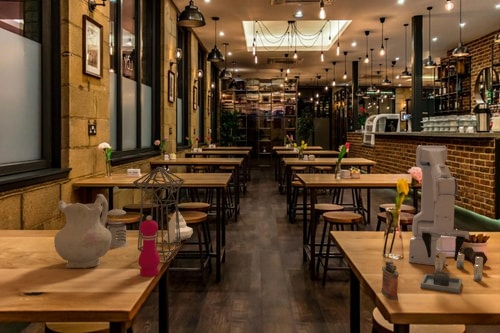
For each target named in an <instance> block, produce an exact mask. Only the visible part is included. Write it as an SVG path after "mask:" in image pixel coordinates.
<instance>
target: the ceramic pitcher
mask: <svg viewBox="0 0 500 333" xmlns="http://www.w3.org/2000/svg"><path fill="white" fill-rule="evenodd" d="M57 204H58V209H59V211H61V212H64V215H65V221H66V223H65V225H64V226H63V228H61V229H59V231H58V232H56V233H55V235H54V238H53V239H54V248H55V251H56V253H57V254H58V256H59V257H61V259H62V260H64V261H67V263H66V264H65V265H64V268H66V269H71V268H72V269H73V268H75V269H76V268H77V269H78V268H79V269H88V268H89V269H90V268H94V267H99V265H100V264H101V261H100V260H99V258H103V257H104V256H105V255H106V254H107V253H108V251H109V249H111V248H110V246H111V240H112V236H111V233H110V231H109V230H108V229H107V227H106V228H105V224H106V222H107V220H108V215H107V214H108V212H109V203H108V200H107V198H106V197H105V194H102V193H98V194H96V199H95V201H94V203H85V204H84V203H80V202H76V203H71V202H70V203H66V202H65V200H63V199H62V200H59V201H57ZM101 213H102V214H101Z"/></svg>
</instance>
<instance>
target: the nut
mask: <svg viewBox="0 0 500 333" xmlns="http://www.w3.org/2000/svg"><path fill="white" fill-rule="evenodd" d="M433 275H434V282H433V284H434V285H440V286H447V287H448V286H449V278H450V277H451V276H450V272H447V271H443V270H442V271H435V270H434V272H433Z"/></svg>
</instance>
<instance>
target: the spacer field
mask: <svg viewBox="0 0 500 333" xmlns="http://www.w3.org/2000/svg"><path fill="white" fill-rule="evenodd" d="M446 260H447V253H446V252H443V251H441V252H440V251H439V252H438V260H435V265H434V272H435V271H443V268H444V269H445V268H446V264H447V262H446ZM483 267H484V266H483V257H475V265H474V264H473V281H474V280H475V281H474V282H479V281H480V282H482V280H483V272H484V270H483V269H484V268H483ZM456 269H458V270H459V269H460V270H464V269H465V258H464V254H461V253H460V252H459V253H458V256H457V261H456Z"/></svg>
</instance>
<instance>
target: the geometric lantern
mask: <svg viewBox="0 0 500 333" xmlns="http://www.w3.org/2000/svg"><path fill="white" fill-rule="evenodd" d="M158 173H160V175H161V177H162V179H163V180H161V179H156V178H157V176H158ZM172 176H173V177H175V178H177V179H174V178H173V177H172ZM144 178H145V179H144ZM166 178H167V180H168V181H167V180H166ZM142 179H144V180H142ZM141 180H142V181H141ZM139 181H140V182H139ZM150 181H152V183H150ZM185 182H186V180H185V179H183V178H182V177H180V176H178V175H176V174H174V173H172V172H171V171H169V170H167V169H166V168H164V167H162V166H161V167H160V166H157V167H156V168H154V169H153V170H151V171H149V172H148V173H146V174H144V175H143V176H141V177H139V178H137V179H136V180H134V181H133V182H132V184H133V185H135V186H136V187H137V188H138V189H140V191H141V194H140V199H141V201H140V211H139V212H140V214H139V224H138V225H139V227H138V236H137V237H138V238H137V239H138V240H137V250H138V251H139V252H141V251H142V248H143V239H142V233H141V231H140V225H141V223H142V222H143V205H144V206H145V205H146V206H147V205H148V206H151V212H150V213H151V214H150V216H151V217H152V219H151V220H153V218H154V217H153V216H154V215H153V213H154V206H156V216H155V217H156V220H155V222H156V223H157V224H158V225H159V221H158V220H159V207H160V211H161V212H160V213H161V214H160V215H161V216H160V218H161V220H160V222H161V241H160V242H159V241H158V239H159V238H158V237H159V236H158V235H159V234H158V233H159V232H158V231H159V230H158V231H157V232H156V234H157V236H156V237H157V238H156V239H155V245H156V249H157V248H158V245H161V250H157V251H158V254H159V257H160V259H161V258H162V259H163V261H160V264H167V263H169V262H170V261H172V260H173V259H174V258H175V257H174V253H175V252H177V251H178V250H179V249H180V248H181V247H182V243H181V242H182V240H181V239H180V227H179V215H178V212H179V207H178V204H179V191H180V188H181V187H182V185H183V184H184V183H185ZM143 186H144V188H143ZM149 186H151V189H152V190H151V191H148V190H147V189H148V187H149ZM167 186H169V187H167ZM154 187H158V188H156V189H154ZM176 187H177V188H176ZM162 188H163V190H162V191H161V193H160V194H159V196H158V194H157V193H156V192H157V191H159V190H160V189H162ZM165 190H170V194H169V196H168V197H167V199H160V198H161V196H162V195H163V193H164V191H165ZM173 193H176V198H175V196H174V194H173ZM143 194H144V195H143ZM146 194H147V195H148V197H149V198H150V200H146V201H144V199H145V196H146ZM151 194H154V195H155V197H156V198H157V199H153V198H152V197H151ZM171 195H172V198H173V200H172V199H170V197H171ZM149 202H151V203H149ZM154 202H156V203H154ZM163 202H165V203H164V204H163ZM168 202H171V203H169V204H167V203H168ZM159 203H160V204H159ZM171 205H175V212H176V234H177V242H174V243H170V239H169V208H168V207H169V206H171ZM163 207H165V212H166V213H165V214H166V223H167V224H166V225H167V226H166V227H167V232H168V242H164V215H163V214H164V213H163V212H164V211H163V209H164V208H163ZM178 232H179V241H178ZM164 245H168V250H164ZM171 245H172V246H175V247H173V248H172V249H171ZM165 254H167V255H165ZM168 257H170V259H168Z"/></svg>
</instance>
